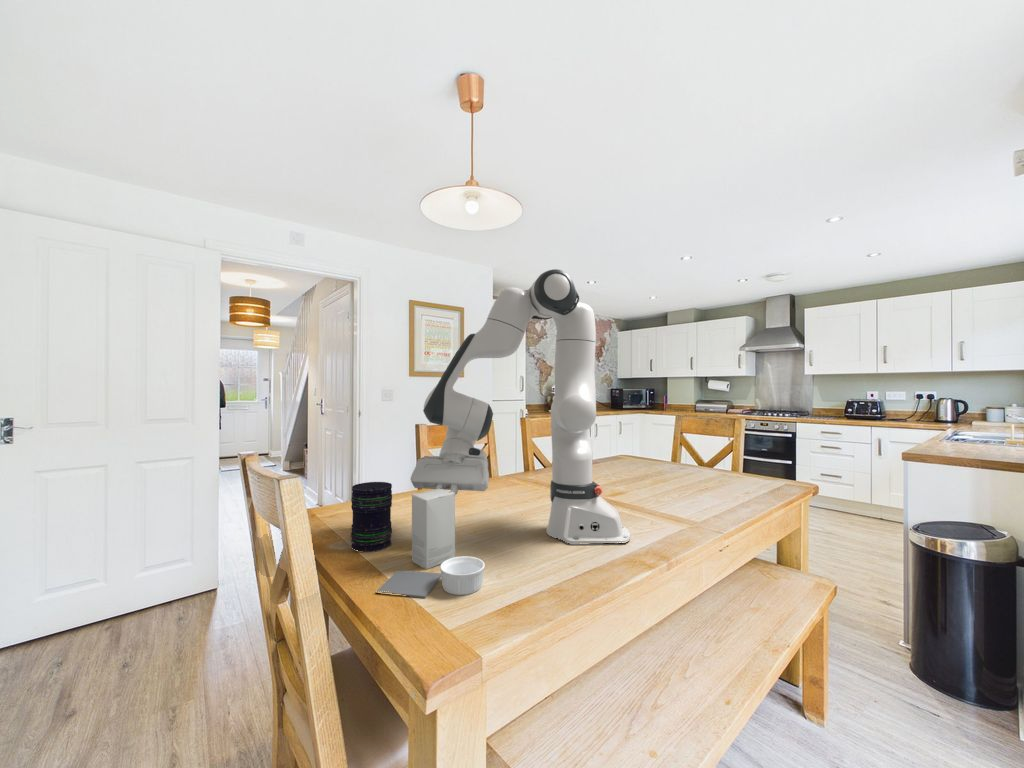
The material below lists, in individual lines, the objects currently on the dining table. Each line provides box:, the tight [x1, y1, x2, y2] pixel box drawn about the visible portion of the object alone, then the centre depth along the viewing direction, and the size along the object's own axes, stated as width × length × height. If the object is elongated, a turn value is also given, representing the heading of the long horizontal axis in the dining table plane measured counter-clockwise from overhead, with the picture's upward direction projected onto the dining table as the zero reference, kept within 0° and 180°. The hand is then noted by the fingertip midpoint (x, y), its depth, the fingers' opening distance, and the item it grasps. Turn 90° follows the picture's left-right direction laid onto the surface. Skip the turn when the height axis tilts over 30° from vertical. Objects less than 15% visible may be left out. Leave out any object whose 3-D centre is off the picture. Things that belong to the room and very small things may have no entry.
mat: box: [376, 569, 442, 599], centre depth 84 cm, size 10×10×1 cm
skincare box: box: [411, 489, 456, 570], centre depth 96 cm, size 8×7×16 cm
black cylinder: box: [350, 481, 393, 553], centre depth 106 cm, size 10×10×15 cm
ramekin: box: [439, 555, 486, 596], centre depth 84 cm, size 9×9×4 cm
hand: (443, 502), depth 104 cm, fingers closed
